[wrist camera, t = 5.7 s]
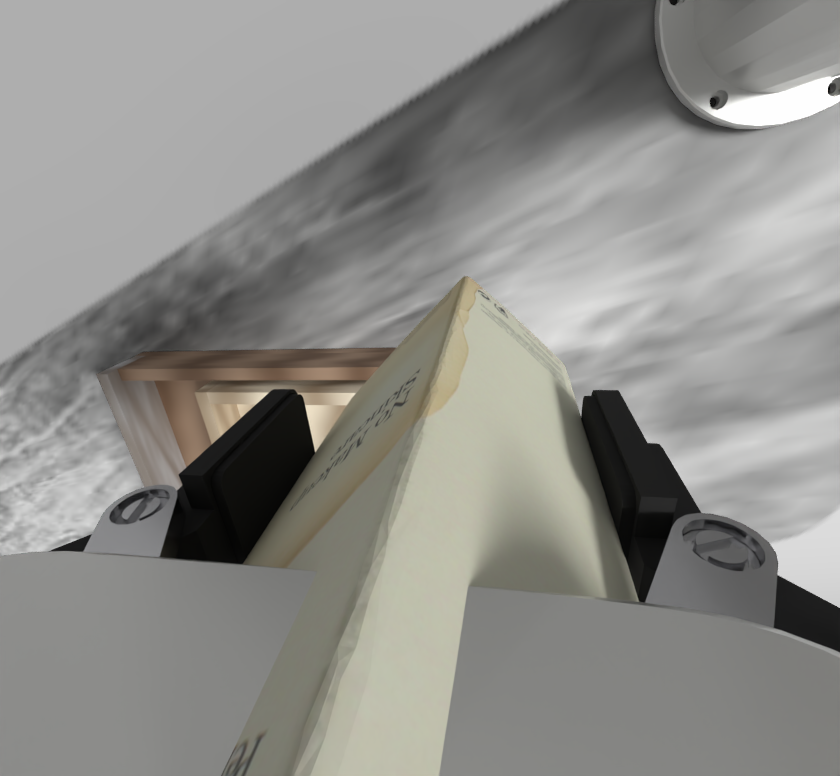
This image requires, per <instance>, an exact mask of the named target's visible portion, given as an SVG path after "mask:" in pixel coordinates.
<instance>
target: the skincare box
mask: <svg viewBox="0 0 840 776" xmlns="http://www.w3.org/2000/svg"><path fill="white" fill-rule="evenodd" d="M243 564H246V565H257V566H268V567H280V568H291V569H302V570H310V571H316V572H317V573H316V575H315V577H314V580H313V582H312V584H311V586H310V588H309V590H308V593H307V595H306V597H305V599H304V601H303V604H302V606H301V608H300V610H299V612H298V614H297V617H296V619H295V621H294V623H293V625H292V627H291V629H290V631H289V633H288V635H287V638H286V640H285V642H284V644H283V646H282V648H281V650H280V652H279V654H278V657H277V659H276V661H275V663H274V665H273V667H272V669H271V671H270V673H269V676H268V678H267V680H266V682H265V684H264V686H263V688H262V690H261V693H260V695H259V697H258V699H257V701H256V703H255V705H254V707H253V710H252V712H251V714H250V716H249V718H248V720H247V722H246V724H245V727H244V729H243V731H242V733H241V735H240V737H239V739H238V741H237V744H236V746H235V748H234V750H233V752H232V754H231V756H230V758H229V760H228V762H227V764H226V766H225V768H224V770H223V773H222V775H221V776H439V772H440V766H441V759H442V752H443V745H444V739H445V733H446V726H447V720H448V714H449V708H450V701H451V695H452V689H453V682H454V676H455V669H456V663H457V656H458V649H459V643H460V636H461V630H462V623H463V616H464V610H465V603H466V596H467V590H468V586H485V587H498V588H509V589H519V590H529V591H540V592H550V593H561V594H571V595H582V596H592V597H603V598H612V599H620V600H627V601H635V602H639V600H638V597H637V593H636V590H635V587H634V584H633V580H632V577H631V574H630V571H629V567H628V564H627V561H626V558H625V556H624V553H623V550H622V547H621V544H620V540H619V537H618V534H617V531H616V527H615V524H614V521H613V518H612V515H611V512H610V509H609V506H608V502H607V499H606V495H605V492H604V489H603V486H602V483H601V480H600V476H599V473H598V470H597V467H596V464H595V461H594V458H593V455H592V452H591V448H590V445H589V442H588V439H587V435H586V432H585V429H584V426H583V423H582V420H581V416H580V413H579V409H578V406H577V403H576V399H575V396H574V393H573V390H572V386H571V383H570V380H569V377H568V374H567V371H566V368H565V366H564V364H563V363H562V362H561V361H560V360H559V359H558V358H557V357H556V356H555V355H554V354H553V353H552V352H551V351H550V350H549V349H548V348H547V347H546V346H545V345H544V344H543V343H542V342H541V341H540V340H539V339H538V338H537V337H535V336H534V335H533V334H532V333H531V332H530V331H529V330H528V329H527V328H526V327H525V326H524V325H523V324H522V323H521V322H519V321H518V320H517V319H516V318H515V317H514V316H513V315H512V314H511V313H510V312H509V311H508V310H507V309H506V308H504V307H503V306H502V305H501V304H500V303H499V302H498V301H497V300H495V299H494V298H493V297H492V296H491V295H490V294H488V293H487V292H486V291H485V290H484V289H483V288H482V287H480V286H479V285H478V284H477V283H476V282H475V281H474V280H473V279H471V278H470V277H468V276H465V277H463V278H462V279H461V280H460V281H459V282H458V283H457V284H456V285H455V286H454V287H453V288H452V289H451V291H450V292H449V293H448V294H447V295H446V296H445V297H444V298H443V299H442V300H441V301H440V302H439V303H438V304H437V305H436V306H435V307H434V308H433V309H432V310H431V311H430V313H429V314H428V315H427V316H426V317H425V318H424V319H423V320H422V321H421V322H420V323H419V324H418V325H417V326H416V327H415V328H414V330H413V331H412V332H411V333H410V334H409V335H408V336H407V337H406V338H405V339H404V340H403V341H402V343H401V344H400V345H399V346H398V347H397V348H396V349H395V350H394V351H393V352H392V354H391V355H390V356H389V357H388V358H387V359H386V360H385V361H384V362H383V364H382V365H381V366H380V367H379V368H378V369H377V370H376V371H375V373H374V374H373V375H372V376H371V377H370V378H369V379H368V380H367V382H366V383H365V384H364V385H363V386H362V387H361V388H360V389H359V391H358V392H357V393H356V394H355V395H354V396H353V397H352V398H351V400H350V401H349V403H348V404H347V406H346V407H345V409H344V410H343V412H342V413H341V415H340V416H339V418H338V419H337V421H336V422H335V424H334V425H333V427H332V428H331V430H330V431H329V433H328V434H327V436H326V437H325V439H324V440H323V442H322V443H321V445H320V446H319V448H318V449H317V451H316V452H315V454H314V456H313V457H312V458H311V460H310V461H309V463H308V464H307V466H306V468H305V469H304V471H303V472H302V474H301V475H300V477H299V478H298V480H297V481H296V483H295V485H294V486H293V488H292V489H291V491H290V492H289V494H288V495H287V497H286V498H285V500H284V501H283V503H282V504H281V506H280V507H279V509H278V510H277V512H276V513H275V515H274V517H273V518H272V520H271V521H270V523H269V524H268V526H267V527H266V529H265V531H264V532H263V534H262V535H261V537H260V538H259V540H258V541H257V543H256V545H255V546H254V548H253V549H252V551H251V552H250V554H249V555H248V557H247V558H246V560H245V561H244V563H243Z"/></svg>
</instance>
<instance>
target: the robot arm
mask: <svg viewBox="0 0 840 776" xmlns="http://www.w3.org/2000/svg"><path fill="white" fill-rule="evenodd" d="M655 42H656V48H657V53H658V58H659V63H660V66H661V68H662V71H663V73H664V76H665V78H666V80H667V83H668V85H669V86H670V88H671V89H672V91H673V92H674V93H675V95H676V96H677V98H678V99H679V100H680V102H681V103H683V104H684V105H685V106H686V107H687V108H688V109H690V110H691V111H692V112H693V113H694V114H696V115H697V116H699V117H701V118H703V119H705V120H707V121H709V122H711V123H713V124H715V125H720V126H724V127H729V128H734V129H764V128H770V127H776V126H781V125H785V124H789V123H792V122H796V121H799V120H803V119H806V118H809V117H811V116H813V115H815V114H817V113H820V112H822V111H824V110H826V109H828V108H830V107H833V106H835V105H836V104H838V103H839V102H840V0H677V3H676V5H674V6H673V5H672V4H671V3H670V2H669V0H656V6H655ZM828 86H830V92H829V93H827V88H828ZM712 97H713V98H715V99H716V104H715V106H714V107H710V99H711V98H712ZM581 420H582V423H583V426H584V429H585V432H586V435H587V439H588V442H589V445H590V448H591V452H592V455H593V458H594V461H595V464H596V467H597V470H598V473H599V476H600V480H601V483H602V486H603V489H604V492H605V495H606V499H607V502H608V506H609V509H610V512H611V515H612V518H613V521H614V524H615V527H616V531H617V534H618V537H619V540H620V544H621V547H622V550H623V553H624V556H625V558H626V561H627V564H628V567H629V571H630V574H631V577H632V580H633V584H634V587H635V590H636V593H637V597H638V600H639V602H635V601H627V600H620V599H612V598H603V597H592V596H582V595H571V594H561V593H550V592H540V591H529V590H519V589H509V588H498V587H485V586H468V590H467V596H466V603H465V610H464V616H463V623H462V630H461V636H460V643H459V649H458V656H457V663H456V669H455V676H454V682H453V689H452V695H451V701H450V708H449V714H448V720H447V726H446V733H445V739H444V745H443V752H442V759H441V766H440V772H439V776H840V608H838V607H837V606H835V605H833V604H831V603H829V602H827V601H825V600H823V599H822V598H820V597H818V596H816V595H814V594H812V593H810V592H808V591H806V590H805V589H803V588H801V587H799V586H797V585H795V584H793V583H791V582H789V581H787V580H786V579H784V578H782V577H780V576H778V575H777V571H778V561H777V556H776V552H775V551H774V549H773V548H772V547H771V545H770V544H769V542H768V541H767V540H765V539H764V538H763V537H762V536H761V535H760V534H758V533H757V532H756V531H754V530H752V529H751V528H749V527H747V526H746V525H744V524H742V523H740V522H737V521H735V520H732V519H730V518H727V517H723V516H719V515H714V514H705V513H701V512H700V510H699V508H698V507H697V505H696V503H695V502H694V500H693V498H692V497H691V495H690V493H689V492H688V490H687V488H686V487H685V485H684V483H683V482H682V480H681V478H680V476H679V475H678V473H677V471H676V470H675V468H674V466H673V465H672V463H671V461H670V460H669V458H668V456H667V455H666V453H665V451H664V450H663V448H662V447H661V446H660V444H655V443H647V441H646V440H645V438H644V436H643V434H642V432H641V431H640V429H639V427H638V425H637V423H636V421H635V420H634V418H633V416H632V414H631V412H630V410H629V409H628V407H627V405H626V403H625V401H624V400H623V398H622V396H621V394H620V392H619V391H618V390H593V392H592V395H591V396H584V398H583V405H582V416H581ZM314 454H315V449H314V444H313V440H312V435H311V430H310V426H309V421H308V417H307V412H306V407H305V403H304V399H303V397H302V395H301V394H298V393H297V392H296V391H295V390H294V389H273V390H271V391H270V392H269V393H268V394H267V395H266V396H265V397H264V398H263V399H261V400H260V401H259V402H258V403H257V404H256V405H255V406H254V407H253V408H251V409H250V410H249V411H248V412H247V413H246V414H245V415H244V416H243V417H242V418H240V419H239V420H238V421H237V422H236V423H235V424H234V425H233V426H232V427H230V428H229V429H228V430H227V431H226V432H225V433H224V434H223V435H222V436H221V437H219V438H218V439H217V440H216V441H215V442H214V443H213V444H212V445H211V446H209V447H208V448H207V449H206V450H205V451H204V452H203V453H202V454H201V455H200V456H198V457H197V458H196V459H195V460H194V461H193V462H192V463H191V464H190V465H188V466H187V467H186V468H185V469H184V470H183V471H182V472H181V473H180V474H178V475H179V477H180V480H181V483H182V486H181V487H180V488H179V489H178V490H176V489H175V488H174V487H172V486H169V485H153V486H148V487H144V488H141V489H138V490H135V491H133V492H131V493H129V494H126V495H125V496H123V497H121V498H120V499H118V500H117V501H115V502H114V503H113V504H112V505H110V506H109V507H108V508H107V509H106V511H105V512H104V513H103V515H102V516H101V518H100V520H99V522H98V524H97V526H96V528H95V530H94V532H93V534H91V535H89V536H86V537H84V538H81V539H79V540H76V541H74V542H71V543H68V544H66V545H63V546H61V547H58V548H56V549H53V550H51V551H48V552H29V553H21V554H12V555H4V556H0V776H221V775H222V773H223V770H224V768H225V766H226V764H227V762H228V760H229V758H230V756H231V754H232V752H233V750H234V748H235V746H236V744H237V741H238V739H239V737H240V735H241V733H242V731H243V729H244V727H245V724H246V722H247V720H248V718H249V716H250V714H251V712H252V710H253V707H254V705H255V703H256V701H257V699H258V697H259V695H260V693H261V690H262V688H263V686H264V684H265V682H266V680H267V678H268V676H269V673H270V671H271V669H272V667H273V665H274V663H275V661H276V659H277V657H278V654H279V652H280V650H281V648H282V646H283V644H284V642H285V640H286V638H287V635H288V633H289V631H290V629H291V627H292V625H293V623H294V621H295V619H296V617H297V614H298V612H299V610H300V608H301V606H302V604H303V601H304V599H305V597H306V595H307V593H308V590H309V588H310V586H311V584H312V582H313V580H314V577H315V575H316V573H317V572H316V571H310V570H302V569H291V568H280V567H268V566H257V565H246V564H243V563H244V561H245V560H246V558H247V557H248V555H249V554H250V552H251V551H252V549H253V548H254V546H255V545H256V543H257V541H258V540H259V538H260V537H261V535H262V534H263V532H264V531H265V529H266V527H267V526H268V524H269V523H270V521H271V520H272V518H273V517H274V515H275V513H276V512H277V510H278V509H279V507H280V506H281V504H282V503H283V501H284V500H285V498H286V497H287V495H288V494H289V492H290V491H291V489H292V488H293V486H294V485H295V483H296V481H297V480H298V478H299V477H300V475H301V474H302V472H303V471H304V469H305V468H306V466H307V464H308V463H309V461H310V460H311V458H312V457H313V456H314Z"/></svg>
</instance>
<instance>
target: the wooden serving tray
mask: <svg viewBox="0 0 840 776" xmlns="http://www.w3.org/2000/svg"><path fill="white" fill-rule="evenodd" d="M395 349H396V348H348V349H289V350H229V351H170V352H142V353H140V354H138V355H136V356H134V357H132V358H130V359H128V360H125V361H123V362H121V363H119V364H117V365H115V366H113V367H111V368H108V369H106V370H104V371H102V372H100V373H98V374H96V375H97V377H98V380H99V382H100V384H101V387H102V389H103V391H104V394H105V396H106V398H107V401H108V403H109V405H110V408H111V410H112V412H113V415H114V417H115V419H116V422H117V424H118V426H119V428H120V431H121V433H122V435H123V438H124V440H125V442H126V445H127V447H128V449H129V452H130V454H131V456H132V459H133V461H134V463H135V466H136V468H137V470H138V473H139V475H140V477H141V480H142V482H143V484H144V487H148V486H153V485H169V486H172V487H174V488H175V489H176V490H178V489H179V488H180V487H181V486H182V483H181V480H180V477H179V475H178V474H180V473H181V472H182V471H183V470H184V469H185V468H186V467H187V466H188V465H190V464H191V463H192V462H193V461H194V460H195V459H196V458H197V457H198V456H200V455H201V454H202V453H203V452H204V451H205V450H206V449H207V448H208V447H209V446H211V445H212V443H211V440H210V437H209V434H208V431H207V428H206V425H205V422H204V419H203V416H202V413H201V410H200V407H199V404H198V401H197V398H196V395H195V392H196V391H197V390H199V389H200V388H202V387H203V386H205V385H206V384H208V383H209V382H210V381H212V380H368V379H369V378H370V377H371V376H372V375H373V374H374V373H375V371H376V370H377V369H378V368H379V367H380V366H381V365H382V364H383V362H384V361H385V360H386V359H387V358H388V357H389V356H390V355H391V354H392V352H393V351H394V350H395Z"/></svg>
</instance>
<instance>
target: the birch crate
mask: <svg viewBox="0 0 840 776" xmlns="http://www.w3.org/2000/svg"><path fill="white" fill-rule="evenodd" d="M366 382H367V380H212V381H210V382H209V383H208V384H206V385H205V386H203V387H202V388H200V389H199V390H197V391H196V392H195V395H196V398H197V401H198V404H199V407H200V410H201V413H202V416H203V419H204V422H205V425H206V428H207V431H208V434H209V437H210V440H211V443H212V444H213V443H214V442H215V441H216V440H217V439H218V438H219V437H221V436H222V435H223V434H224V433H225V432H226V431H227V430H228V429H229V428H230V427H232V426H233V425H234V424H235V423H236V422H237V421H238V420H239V419H240V418H242V417H243V416H244V415H245V414H246V413H247V412H248V411H249V410H250V409H251V408H253V407H254V406H255V405H256V404H257V403H258V402H259V401H260V400H261V399H263V398H264V397H265V396H266V395H267V394H268V393H269V392H270V391H271V390H273V389H294V390H295V391H296V392H297V393H298V394H301V395H302V397H303V399H304V403H305V407H306V412H307V417H308V421H309V426H310V430H311V435H312V440H313V444H314V449H315V452H316V451H317V449H318V448H319V446H320V445H321V443H322V442H323V440H324V439H325V437H326V436H327V434H328V433H329V431H330V430H331V428H332V427H333V425H334V424H335V422H336V421H337V419H338V418H339V416H340V415H341V413H342V412H343V410H344V409H345V407H346V406H347V404H348V403H349V401H350V400H351V398H352V397H353V396H354V395H355V394H356V393H357V392H358V391H359V389H360V388H361V387H362V386H363V385H364V384H365V383H366Z"/></svg>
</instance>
